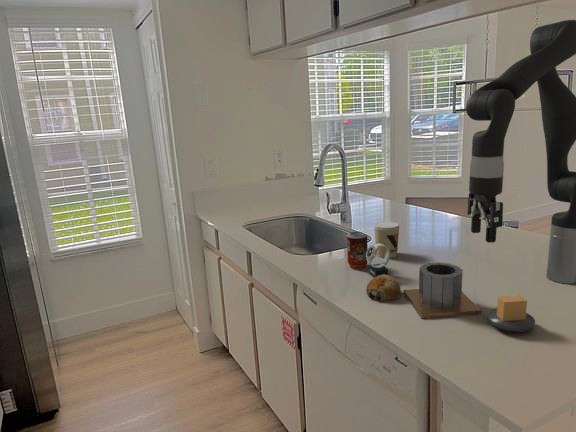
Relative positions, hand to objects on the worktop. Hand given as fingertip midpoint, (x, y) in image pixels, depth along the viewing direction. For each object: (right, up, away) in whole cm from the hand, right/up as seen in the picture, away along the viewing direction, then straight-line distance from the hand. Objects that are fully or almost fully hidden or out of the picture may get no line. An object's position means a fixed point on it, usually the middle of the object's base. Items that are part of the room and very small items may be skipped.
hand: (482, 237), depth 109 cm
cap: (+6, -22, -2) cm, 23 cm away
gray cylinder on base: (-7, -19, +12) cm, 24 cm away
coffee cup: (-12, -10, +54) cm, 56 cm away
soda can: (-25, -13, +44) cm, 52 cm away
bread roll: (-21, -19, +19) cm, 34 cm away
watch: (-19, -15, +34) cm, 42 cm away
